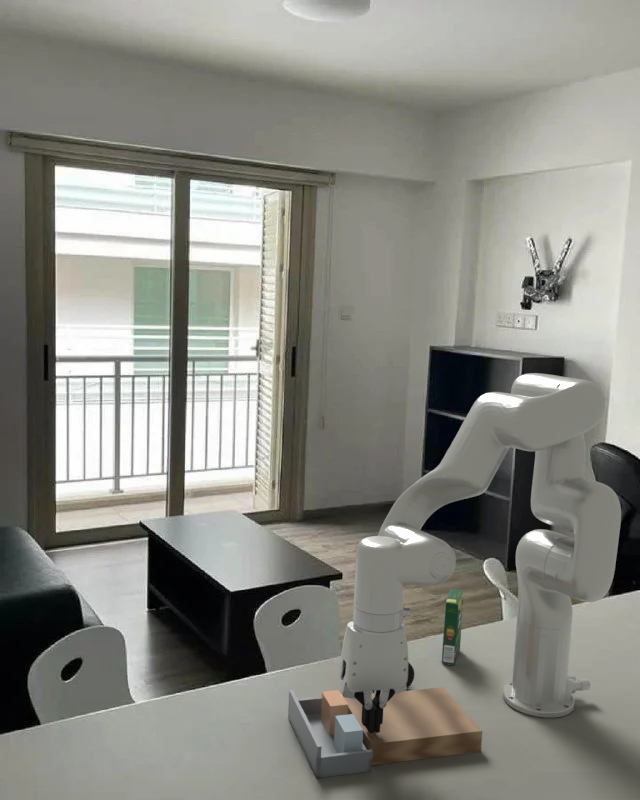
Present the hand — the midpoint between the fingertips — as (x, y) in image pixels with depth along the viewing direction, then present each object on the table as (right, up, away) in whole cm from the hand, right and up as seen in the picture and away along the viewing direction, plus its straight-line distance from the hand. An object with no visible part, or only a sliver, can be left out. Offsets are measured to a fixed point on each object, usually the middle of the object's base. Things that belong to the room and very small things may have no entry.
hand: (371, 728), depth 129 cm
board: (+7, -4, +7) cm, 10 cm away
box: (-7, -4, +3) cm, 8 cm away
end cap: (+4, -2, +25) cm, 25 cm away
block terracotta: (-4, 0, +8) cm, 9 cm away
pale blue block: (-2, -1, 0) cm, 3 cm away
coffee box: (+18, -1, +37) cm, 41 cm away
